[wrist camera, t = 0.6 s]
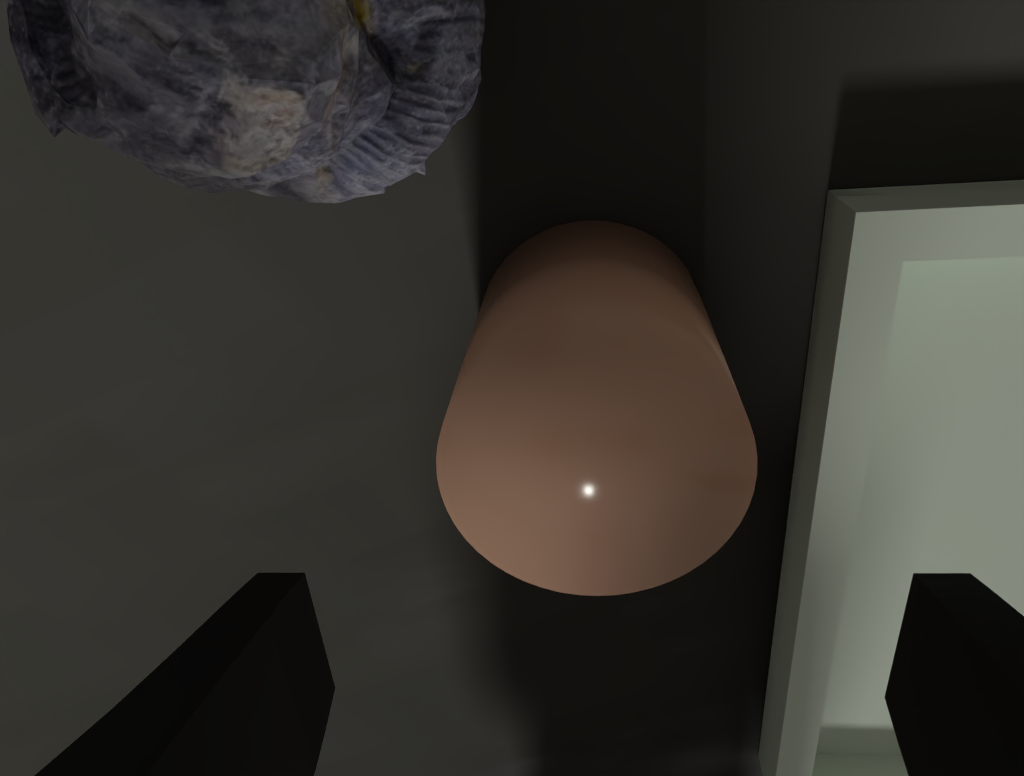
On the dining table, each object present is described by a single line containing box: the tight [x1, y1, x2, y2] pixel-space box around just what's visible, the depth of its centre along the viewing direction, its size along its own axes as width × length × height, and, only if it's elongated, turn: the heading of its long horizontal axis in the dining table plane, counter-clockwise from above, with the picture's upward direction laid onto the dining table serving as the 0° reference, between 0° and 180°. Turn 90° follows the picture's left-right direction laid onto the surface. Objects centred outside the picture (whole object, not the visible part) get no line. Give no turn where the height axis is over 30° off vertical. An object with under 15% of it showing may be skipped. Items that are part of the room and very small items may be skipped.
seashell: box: [7, 0, 485, 203], centre depth 10 cm, size 5×5×10 cm
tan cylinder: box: [436, 220, 757, 596], centre depth 15 cm, size 5×5×6 cm
